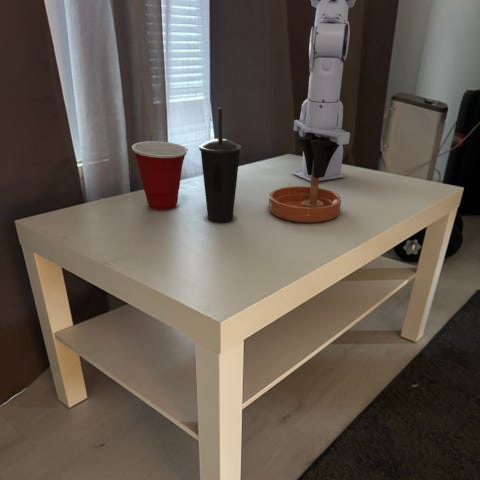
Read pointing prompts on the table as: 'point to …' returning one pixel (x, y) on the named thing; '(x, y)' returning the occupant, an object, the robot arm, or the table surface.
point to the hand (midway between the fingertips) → (315, 175)
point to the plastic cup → (160, 172)
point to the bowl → (290, 202)
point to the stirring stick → (313, 193)
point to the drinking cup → (220, 175)
